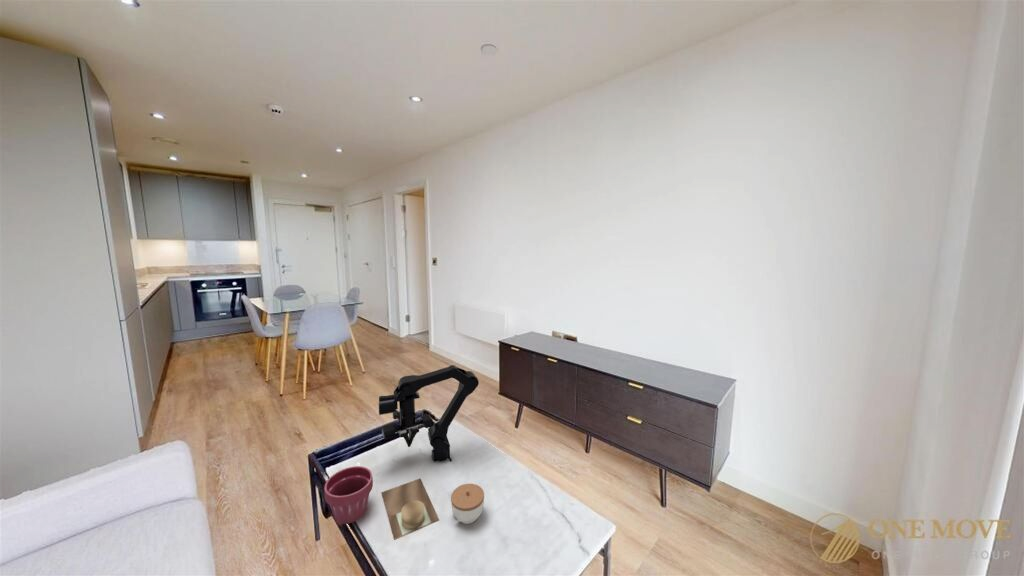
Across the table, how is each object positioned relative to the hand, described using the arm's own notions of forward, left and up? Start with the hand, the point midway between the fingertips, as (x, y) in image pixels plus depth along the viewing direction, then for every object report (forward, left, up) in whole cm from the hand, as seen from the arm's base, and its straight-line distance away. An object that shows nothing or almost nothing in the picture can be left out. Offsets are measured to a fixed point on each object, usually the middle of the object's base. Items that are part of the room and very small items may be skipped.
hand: (409, 446), depth 132 cm
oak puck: (+6, +28, -8) cm, 29 cm away
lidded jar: (-10, +34, -9) cm, 37 cm away
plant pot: (+23, +14, -9) cm, 28 cm away
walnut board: (+6, +21, -9) cm, 24 cm away
